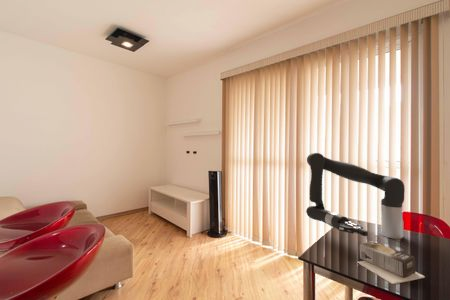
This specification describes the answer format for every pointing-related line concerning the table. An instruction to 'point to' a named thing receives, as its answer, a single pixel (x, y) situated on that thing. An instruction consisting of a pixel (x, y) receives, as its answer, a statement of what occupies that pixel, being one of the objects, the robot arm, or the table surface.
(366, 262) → the mat
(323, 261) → the table surface
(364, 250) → the coffee box
